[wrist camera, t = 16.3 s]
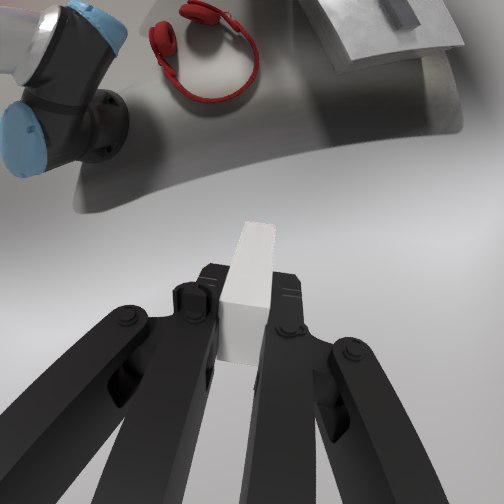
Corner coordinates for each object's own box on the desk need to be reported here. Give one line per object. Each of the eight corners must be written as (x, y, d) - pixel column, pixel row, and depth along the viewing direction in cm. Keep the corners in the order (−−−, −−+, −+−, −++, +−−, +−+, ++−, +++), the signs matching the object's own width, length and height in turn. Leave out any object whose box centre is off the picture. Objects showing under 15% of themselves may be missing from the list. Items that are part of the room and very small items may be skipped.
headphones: (145, 43, 36) (207, 116, 45) (129, 38, 30) (199, 121, 39) (210, -5, 31) (276, 71, 40) (203, -17, 25) (279, 68, 34)
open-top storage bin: (337, 75, 37) (355, 61, 26) (292, -7, 30) (294, -39, 19) (421, 57, 32) (455, 46, 21) (378, -20, 25) (399, -46, 14)
